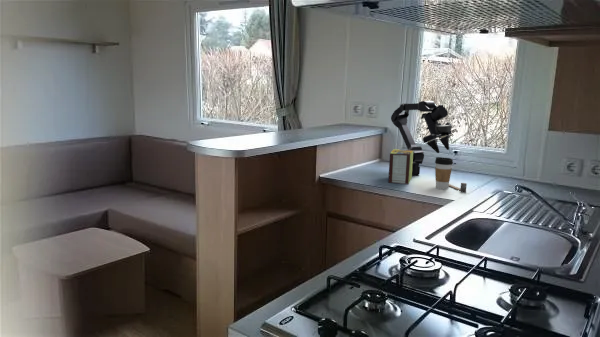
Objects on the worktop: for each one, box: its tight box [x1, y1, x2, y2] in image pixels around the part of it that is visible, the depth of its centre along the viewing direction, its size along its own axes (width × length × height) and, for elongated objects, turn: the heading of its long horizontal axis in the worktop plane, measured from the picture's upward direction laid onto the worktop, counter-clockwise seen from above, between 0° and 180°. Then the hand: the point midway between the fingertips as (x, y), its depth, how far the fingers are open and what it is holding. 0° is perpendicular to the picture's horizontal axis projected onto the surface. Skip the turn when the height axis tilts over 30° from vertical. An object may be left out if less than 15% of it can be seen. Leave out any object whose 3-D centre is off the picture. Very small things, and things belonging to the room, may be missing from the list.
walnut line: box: [448, 182, 468, 193], centre depth 228 cm, size 20×3×4 cm, turn 15°
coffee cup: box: [434, 156, 454, 190], centre depth 226 cm, size 8×8×15 cm
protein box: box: [388, 148, 413, 185], centre depth 241 cm, size 10×15×16 cm
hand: (443, 151), depth 241 cm, fingers open, 9 cm apart
